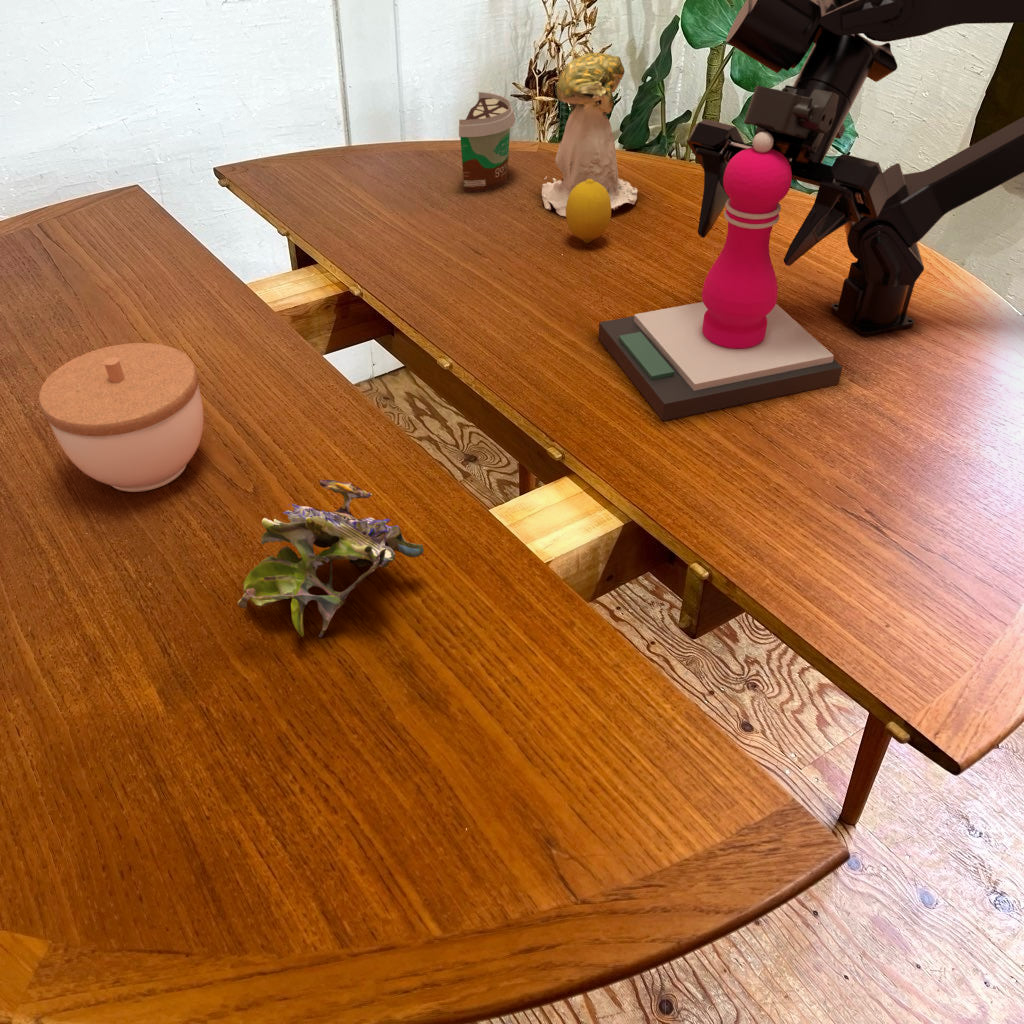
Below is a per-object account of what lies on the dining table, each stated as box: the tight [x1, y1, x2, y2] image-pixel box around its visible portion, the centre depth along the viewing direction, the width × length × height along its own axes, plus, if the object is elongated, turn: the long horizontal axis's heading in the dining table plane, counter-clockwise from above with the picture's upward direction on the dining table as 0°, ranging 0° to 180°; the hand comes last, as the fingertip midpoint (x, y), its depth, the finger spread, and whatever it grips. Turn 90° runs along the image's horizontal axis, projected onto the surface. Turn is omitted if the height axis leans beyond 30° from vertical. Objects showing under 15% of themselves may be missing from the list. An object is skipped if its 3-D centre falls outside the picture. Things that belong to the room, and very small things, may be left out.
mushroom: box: [541, 52, 639, 218], centre depth 123 cm, size 12×13×18 cm
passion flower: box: [237, 479, 425, 638], centre depth 71 cm, size 11×11×12 cm
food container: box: [458, 91, 516, 193], centre depth 132 cm, size 12×6×10 cm, turn 168°
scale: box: [598, 301, 843, 422], centre depth 97 cm, size 19×16×3 cm
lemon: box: [565, 179, 612, 244], centre depth 117 cm, size 6×6×8 cm
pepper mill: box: [701, 131, 793, 349], centre depth 90 cm, size 7×7×20 cm
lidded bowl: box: [38, 342, 205, 493], centre depth 82 cm, size 13×13×11 cm
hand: (742, 249), depth 90 cm, fingers open, 9 cm apart
